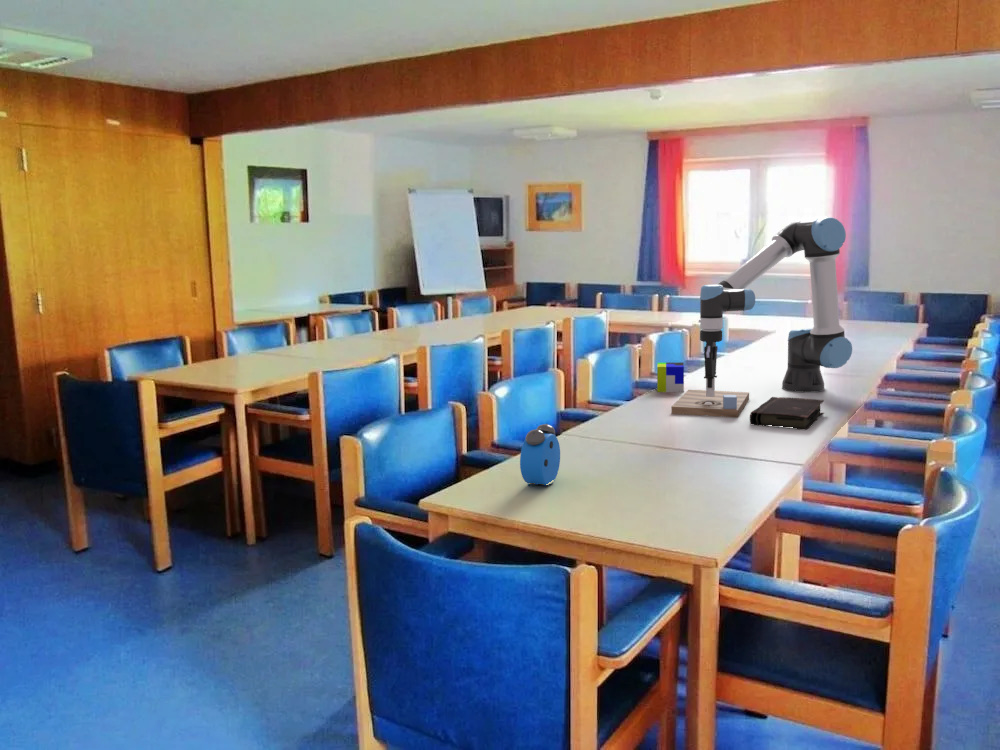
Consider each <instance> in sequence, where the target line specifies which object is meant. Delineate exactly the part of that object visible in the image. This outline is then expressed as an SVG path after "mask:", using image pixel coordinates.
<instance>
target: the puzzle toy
mask: <svg viewBox="0 0 1000 750" xmlns="http://www.w3.org/2000/svg"><path fill="white" fill-rule="evenodd" d="M656 368H657V369H656V370H657V371H656V375H657V376H656V377H657V378H656V380H657V381H656V382H657V383H656V384H657V385H656V387H657V388H656V390H657V391H656V392H657V393H685V391H684V390H685V389H684V388H685V387H684V386H685V383H684V382H685V378H684V377H685V375H684V373H685V363H684V362H657V367H656Z"/></svg>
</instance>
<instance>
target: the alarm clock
mask: <svg viewBox="0 0 1000 750" xmlns="http://www.w3.org/2000/svg"><path fill="white" fill-rule="evenodd" d="M519 458H520V459H519V469H520V473H521V476H522V479H523V480H524V482H525V483H526V482H527V484H528V483H535V484H534V485H538V484H544V485H543V486H547V485H546V484H548V483H549V482H551V481H552V480H554V479H555V480H556V479H557V477H558V474H559V471H560V470H559V469H560V466H561V465H560V464H561V447H560V442H559V439H558V437H557V436H556V430H555V428H554V426H553V425H550V424H548V423H544V424H540V425H538V426H537V428H536V429H531V430H530V431H528V432H527V433H526V436H525V439H524V440H523V443H522V447H521V450H520V456H519ZM555 480H554V481H555Z"/></svg>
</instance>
